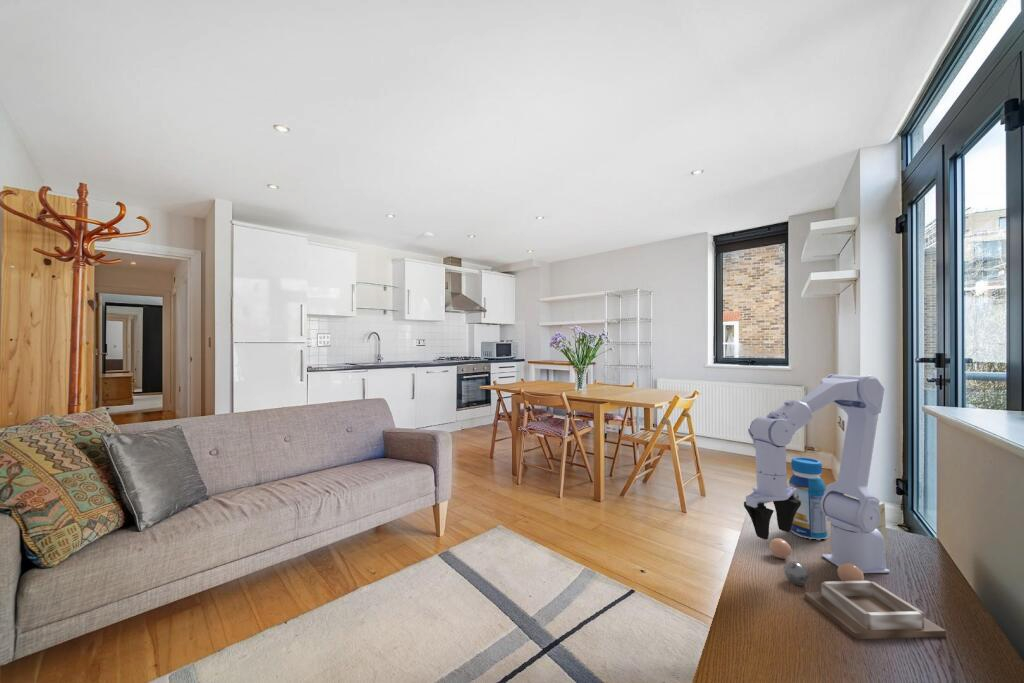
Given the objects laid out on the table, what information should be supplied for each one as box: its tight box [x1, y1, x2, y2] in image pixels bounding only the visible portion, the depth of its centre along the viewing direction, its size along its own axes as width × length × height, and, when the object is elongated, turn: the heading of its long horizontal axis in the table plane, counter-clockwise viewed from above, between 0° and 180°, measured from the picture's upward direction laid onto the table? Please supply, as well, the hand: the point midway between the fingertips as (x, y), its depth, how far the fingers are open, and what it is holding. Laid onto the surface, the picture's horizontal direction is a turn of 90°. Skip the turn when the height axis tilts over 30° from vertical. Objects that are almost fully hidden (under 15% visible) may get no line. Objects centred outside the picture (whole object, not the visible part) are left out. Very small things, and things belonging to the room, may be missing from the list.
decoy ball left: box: [837, 563, 865, 581], centre depth 87 cm, size 4×4×4 cm
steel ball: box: [783, 561, 810, 586], centre depth 88 cm, size 4×4×4 cm
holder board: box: [804, 580, 947, 640], centre depth 77 cm, size 16×12×4 cm
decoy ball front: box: [769, 538, 792, 560], centre depth 99 cm, size 4×4×4 cm
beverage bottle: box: [788, 457, 828, 541], centre depth 111 cm, size 8×8×20 cm
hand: (773, 534), depth 90 cm, fingers open, 7 cm apart
